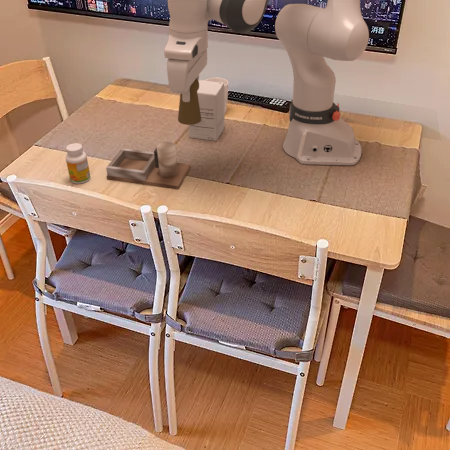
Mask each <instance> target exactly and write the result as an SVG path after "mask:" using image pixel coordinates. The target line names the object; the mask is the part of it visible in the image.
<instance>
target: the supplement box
mask: <svg viewBox="0 0 450 450" xmlns="http://www.w3.org/2000/svg"><path fill="white" fill-rule="evenodd" d="M198 81H199V89H198V91H197V94H198V101H199V107H200V114H201V122H199V123H197V124H194V125H188V133H189V134H188V136H189V138H192V139H196V140H207V141H214V142H217V141H219V138H220V137H221V134H222V133H223V131H224V129H225V114H224V83H221V82H211V81H205V79H204V80H203V79H199V80H198Z"/></svg>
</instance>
